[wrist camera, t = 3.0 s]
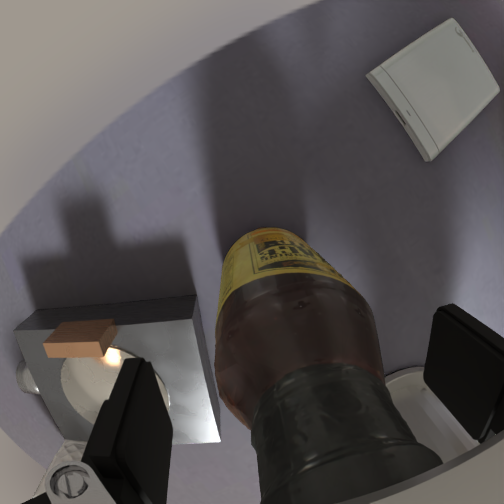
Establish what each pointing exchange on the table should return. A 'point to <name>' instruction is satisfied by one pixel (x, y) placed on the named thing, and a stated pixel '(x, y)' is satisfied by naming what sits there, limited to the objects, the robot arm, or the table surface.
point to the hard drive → (435, 86)
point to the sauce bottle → (308, 376)
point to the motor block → (120, 362)
